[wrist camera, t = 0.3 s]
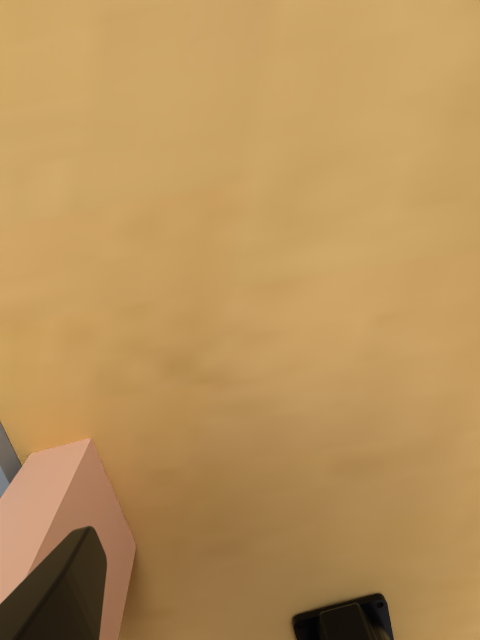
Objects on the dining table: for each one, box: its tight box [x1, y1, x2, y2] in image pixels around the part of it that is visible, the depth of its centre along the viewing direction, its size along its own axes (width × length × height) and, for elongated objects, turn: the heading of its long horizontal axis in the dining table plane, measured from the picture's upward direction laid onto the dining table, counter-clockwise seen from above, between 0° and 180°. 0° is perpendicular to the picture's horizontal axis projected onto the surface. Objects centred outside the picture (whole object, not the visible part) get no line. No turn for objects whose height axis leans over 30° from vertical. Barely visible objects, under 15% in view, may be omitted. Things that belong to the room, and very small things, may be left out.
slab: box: [0, 438, 136, 640], centre depth 19 cm, size 8×4×10 cm, turn 14°
